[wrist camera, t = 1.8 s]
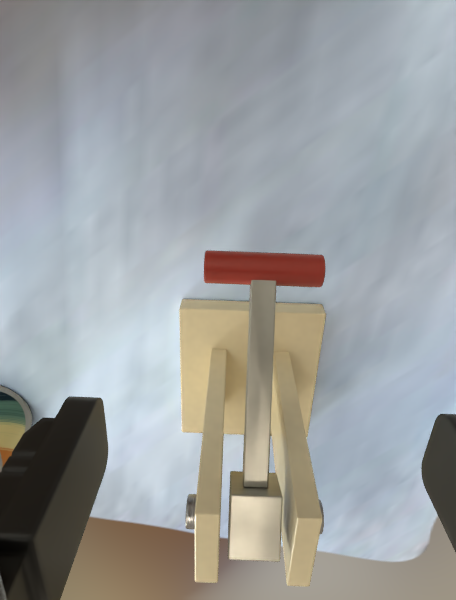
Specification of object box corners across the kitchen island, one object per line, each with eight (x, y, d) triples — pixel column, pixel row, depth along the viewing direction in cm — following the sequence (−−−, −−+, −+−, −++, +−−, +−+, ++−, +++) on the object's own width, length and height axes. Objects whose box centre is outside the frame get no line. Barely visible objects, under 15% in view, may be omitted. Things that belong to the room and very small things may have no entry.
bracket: (181, 298, 27) (138, 459, 15) (322, 303, 27) (389, 469, 15) (183, 419, 32) (151, 617, 20) (304, 423, 32) (345, 625, 20)
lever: (207, 253, 20) (203, 247, 18) (317, 257, 20) (328, 252, 18) (196, 527, 20) (192, 558, 18) (305, 531, 20) (315, 563, 18)
